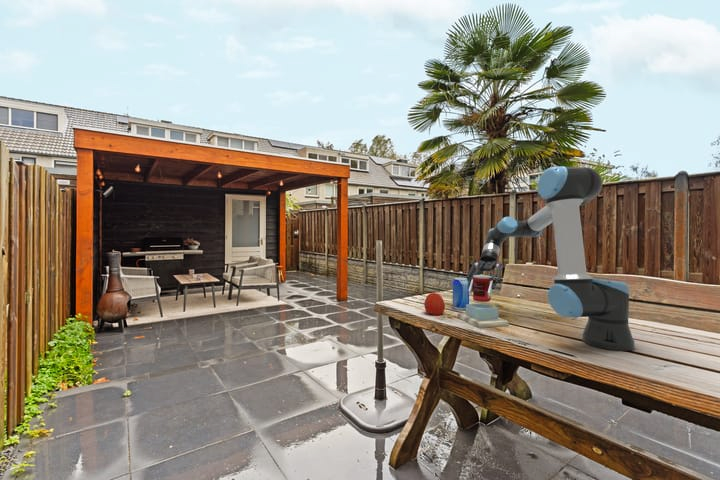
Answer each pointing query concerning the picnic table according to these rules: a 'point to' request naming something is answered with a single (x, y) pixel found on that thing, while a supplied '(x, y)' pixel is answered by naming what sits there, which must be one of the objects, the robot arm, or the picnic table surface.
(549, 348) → the picnic table surface
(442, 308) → the apple
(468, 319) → the board
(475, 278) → the canned food
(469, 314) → the pedestal
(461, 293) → the beer can
